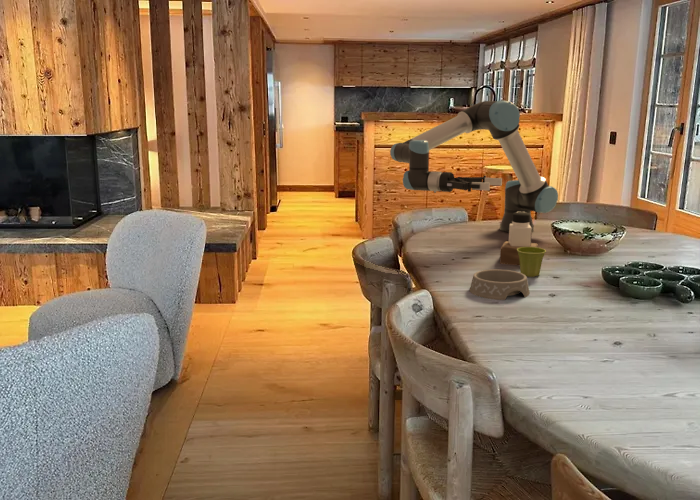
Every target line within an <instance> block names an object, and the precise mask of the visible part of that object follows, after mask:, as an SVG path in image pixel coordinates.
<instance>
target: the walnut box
mask: <svg viewBox="0 0 700 500" xmlns="http://www.w3.org/2000/svg"><path fill="white" fill-rule="evenodd" d="M531 247H538V248H539V244H538V243H537V242H536V243H535V242H531ZM518 248H520V247H511V245H510V243H509V240H508V241H504V242H503V243H502V246H501V247H500V257H499V264H500V265H510V266H511V265H514V266H520V261H519V255H518V251H517V249H518Z"/></svg>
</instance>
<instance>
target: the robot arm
mask: <svg viewBox="0 0 700 500" xmlns="http://www.w3.org/2000/svg"><path fill="white" fill-rule="evenodd" d="M519 110H520V109H519V108H518V107H517V105H515V103H513V102H511V101H507V100H497V101H496V100H484V101H480V102H478V103H475V104H473V105H471V106H469V107H467V108H465V109H463V110H460V111H459V112H458V113H457V115H456V116H454V117H453V118H450V119H449V120H446V121H445V122H442V123H440V124H438V125H436V126H434V127H432V128H430V129H428V130H426V131H424V132H422V133H420V134H418V135H416V136H414V137H412V138H410V139H407V140H406V141H404V142H396V143H394V144H392V146H391V148H390V151H389V152H390V154H389V155H390V157H391V159H392V160H393V161H395V162H398V163H405V164H408V170H406V171H405V172H404V173H403V177H402V184H403V187H404V188H405V189H406V190H411V191H420V192H423V191H424V192H425V191H426V192H427V191H428V192H433V193H437V192H443V193H451V192H452V191H453V190H459V191H462V190H463V191H467V192H468V193H470V192H472V191H491V190H490V189H491V188H490V186H496V187H497V186H500V187H502V185H503V178H502V177H501V178H500V177H487V176H486V175H483V176H471V177H469V176H457V177H455V175H454V173H453V172H451V171H450V172H449V171H443V172H442V171H429V162H430V161H429V159H430V157H429V156H430V150H433V149H434V148H437V147H438V146H440V145H442V144H445V143H446V142H449V141H451V140H453V139H454V138H457V137H458V136H461V135H462V134H464V133H466V134H470V133H472V132H474V131H478V130H479V131H481V130H485V131H489V133H490V135H491V136H492V139H493V140H495V141H498V142H499V144H500V147H501V148H502V150H503V152H504V154H505V156H506V158H507V160H508V161H509V162H508V163H509V164H510V166H511V168H512V171H513V172H514V174H515V176H516V178H517V179H516V180H514V179H513V180H508V181H506V182H505V189H504V211H503V212H504V213H503V216H502V219H501V222H500V224H499V231H502V232H504V233H509V226H510V224H513V223H512V218H513V213H515V212H527V213H529V214H530V222H529V225H530V226H531V228H532V233H533V232H534V230H535V225H534V223H533V217H532V214H531V212H536V213H539V214H541V213H542V214H548V213H550V212H551V211H553V210H554V208H555V207H556V206H557V202H558V200H559V193H558V190H557V189H556V188H555V187H554V186H551V185H549V184H548V182H547V180H546V178H545V177H544V176H541V175H540V174H539V171H538V169H537V167H536V165H535V163H534V161H533V158H532V156H531V155H530V153H529V151H528V149H527V146H526V145H525V142H524V139H523V138H522V136H521V134H520V132H519V128H520V124H519V123H520V118H521V113H520V111H519Z"/></svg>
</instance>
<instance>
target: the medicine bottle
mask: <svg viewBox="0 0 700 500" xmlns="http://www.w3.org/2000/svg"><path fill="white" fill-rule="evenodd" d="M529 222H530V214H529V213H527V212H515V213H513V218H512V223H513V224H510V226H509V232H508V241H509V243H510V245H511V247H531V243H532V235H533V234H532V233H533V232H532V228H531V226H530V225H529Z"/></svg>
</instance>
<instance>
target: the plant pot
mask: <svg viewBox="0 0 700 500" xmlns="http://www.w3.org/2000/svg"><path fill="white" fill-rule="evenodd" d="M517 251H518V255H519V261H520V265H519V270H520V272H519V273H522V274H524V275H525V276H526V277H527V278H529V277H531V278H534V277H537V276H538V277H539V276H540V273H541V268H542V264H543V258H544V256H545V253H547V250H546V249H544V248H541V247H539V246H538V247H520V248H518V249H517Z"/></svg>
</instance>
